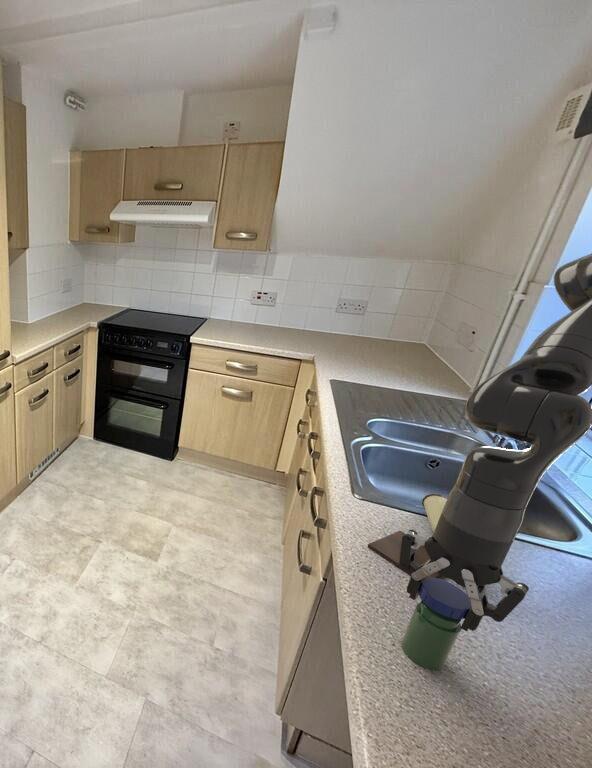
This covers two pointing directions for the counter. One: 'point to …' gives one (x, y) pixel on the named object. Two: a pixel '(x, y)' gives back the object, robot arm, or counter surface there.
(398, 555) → the coaster
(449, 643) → the jar
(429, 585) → the lid
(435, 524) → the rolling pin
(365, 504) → the counter surface
